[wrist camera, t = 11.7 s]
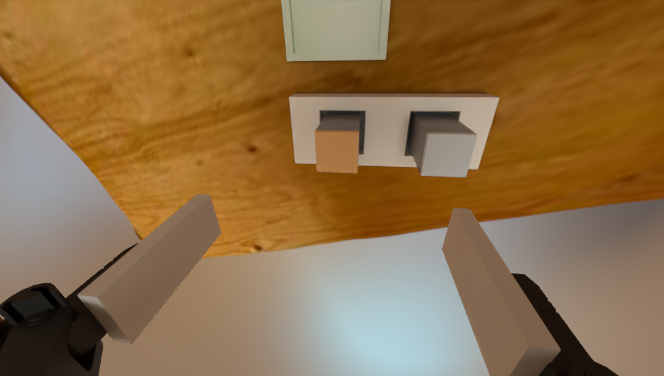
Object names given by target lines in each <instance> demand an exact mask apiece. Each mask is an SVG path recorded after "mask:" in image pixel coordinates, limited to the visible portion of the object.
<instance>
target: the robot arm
mask: <svg viewBox="0 0 664 376" xmlns="http://www.w3.org/2000/svg"><path fill="white" fill-rule="evenodd" d="M220 234H221V230H220V227H219V224H218V221H217V217H216V214H215V211H214V207H213V204H212V201H211V197H210V195H204V194H197V195H196V196H194V197H193V198H192V199H191V200H190V201H188V202H187V203H186V204H185V205H184V206H182V207H181V208H180V209H179V210H178V211H176V212H175V213H174V214H173V215H172V216H171V217H169V218H168V219H167V220H166V221H165V222H163V223H162V224H161V225H160V226H159V227H157V228H156V229H155V230H154V231H153V232H151V233H150V234H149V235H148V236H147V237H145V238H144V239H143V240H142V241H141V242H140V243H137V244H135V245H133V246H132V247H130V248H128V249H126V250H124V251H123V252H122V253H120V254H119V255H118V256H117V257H115V258H114V259H113V261H112V262H109V263H108V264H107V265H106V266H104V269H101V270H100V271H98V272H97V273H96V274H95V275H93V276H92V277H91V278H90V279H89V280H87V281H86V282H85V283H84V284H83V285H81V286H80V287H79V288H78V289H76V290H75V291H74V292H73V293H72V294H70V295H69V296H68V297H67V298H65V297H64V296H63V295H62V294H61V293H60V292H59V290H58V289H57V288H56V287H55V286H54V285H53V284H51V283H41V284H37V285H33V286H31V287H28V288H26V289H23V290H21V291H20V292H18V293H16V294H14V295H13V296H11V297H10V298H8V299H7V300H5V301H4V302H3V303H2V304H1V305H0V314H1V315H2V316H3V317H4V318H5V319H4V320H3V319H2V318H0V376H98V375H99V369H100V363H101V356H102V350H103V343H102V341H101V339H102V338H103V337H104V336H105V334H106V333H108V334H109V336H110V337H111V338H112V340H113V341H114V342H121V343H127V344H132V343H133V342H134V341H135V339H136V338H137V337H138V336H139V335H140V333H141V332H142V331H143V330H144V328H145V327H146V326H147V325H148V323H149V322H150V321H151V320H152V319H153V317H154V316H155V314H157V312H158V311H159V310H160V309H161V307H162V306H163V305H164V304H165V302H166V301H167V300H168V299H169V297H170V296H171V295H172V294H173V292H174V291H175V290H176V289H177V287H178V286H179V285H180V283H181V282H182V281H183V280H184V279H185V277H186V276H187V275H188V274H189V272H190V271H191V270H192V269H193V268H194V266H195V265H196V264H197V262H198V261H199V260H200V259H201V258H202V256H203V255H204V254H205V253H206V251H207V250H208V249H209V248H210V246H211V245H212V244H213V243H214V241H215V240H216V239H217V238H218V236H219V235H220ZM442 250H443V253H444V255H445V258H446V261H447V263H448V266H449V269H450V271H451V274H452V277H453V279H454V282H455V285H456V287H457V290H458V292H459V295H460V298H461V300H462V303H463V306H464V308H465V311H466V314H467V316H468V319H469V321H470V324H471V327H472V329H473V332H474V335H475V337H476V340H477V342H478V345H479V348H480V350H481V353H482V356H483V358H484V361H485V364H486V366H487V369H488V371H489V374H490V376H618V375H617V374H615V373H614V372H612V371H611V370H610V369H608V368H607V367H605V366H603V365H601V364H598V363H596V362H594V361H593V360H592V358H591V357H590V356H589V355H588V353H587V352H586V350H585V349H584V348H583V346H582V345H581V344H580V342H579V341H578V340H577V338H576V337H575V335H574V334H573V333H572V331H571V330H570V329H569V327H568V326H567V324H566V323H565V322H564V320H563V319H562V318H561V316H560V315H559V313H556V309H555V308H554V307H553V305H552V304H551V303H550V302H549V301H548V298H547V297H546V296H545V294H544V293H543V292H542V290H541V289H540V287H539V286H538V285H537V284H535V283H534V282H533V281H532V280H531V279H529V278H528V277H527V276H526V275H524V274H513V273H511V272H510V271H509V269H508V267H507V266H506V265H505V263H504V261H503V260H502V258H501V257H500V255H499V254H498V252H497V251H496V249H495V247H494V246H493V244H492V243H491V241H490V240H489V238H488V237H487V235H486V234H485V232H484V231H483V229H482V228H481V226H480V224H479V223H478V221H477V220H476V218H475V217H474V215H473V214H472V212H471V211H470V209H462V208H453V211H452V215H451V218H450V222H449V226H448V230H447V233H446V237H445V240H444V244H443V248H442Z"/></svg>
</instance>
